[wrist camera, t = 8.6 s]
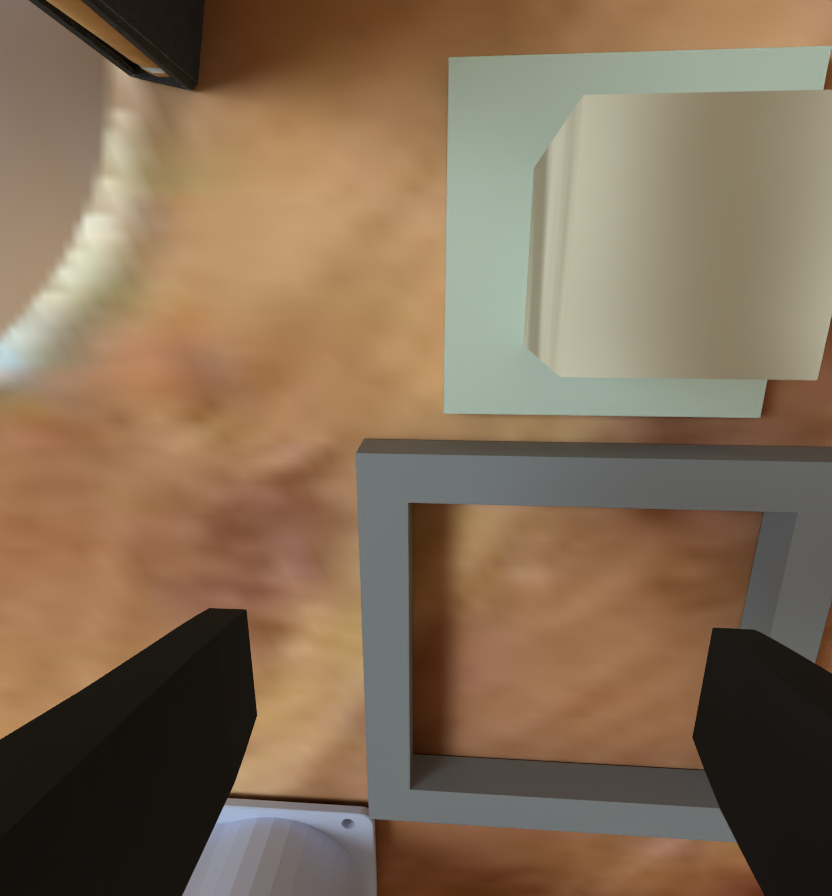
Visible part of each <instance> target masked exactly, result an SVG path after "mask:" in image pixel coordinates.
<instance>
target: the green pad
mask: <svg viewBox="0 0 832 896" xmlns="http://www.w3.org/2000/svg"><path fill="white" fill-rule="evenodd" d="M831 47H832V46H814V47H780V48H746V49H712V50H678V51H644V52H610V53H576V54H542V55H508V56H474V57H449V80H448V150H447V221H446V291H445V362H444V413H449V414H520V415H590V416H660V417H731V418H760V416H761V410H762V405H763V400H764V395H765V390H766V385H767V380H757V379H676V378H594V377H560V376H559V375H558V374H556V373H555V372H554V371H553V370H552V369H551V368H549V367H548V366H547V365H546V364H545V363H544V362H542V361H541V360H540V359H539V358H538V357H537V356H535V355H534V354H533V353H532V352H531V351H530V350H528V349H527V348H526V347H525V346H524V345H523V341H524V324H525V307H526V290H527V274H528V257H529V240H530V223H531V206H532V190H533V173H534V167H535V166H536V164H537V163H538V161H539V160H540V158H541V157H542V155H543V154H544V152H545V151H546V149H547V148H548V146H549V145H550V143H551V142H552V141H553V139H554V138H555V136H556V135H557V133H558V132H559V130H560V129H561V127H562V126H563V124H564V123H565V121H566V120H567V118H568V117H569V116H570V114H571V113H572V111H573V110H574V108H575V107H576V105H577V104H578V102H579V101H580V99H581V98H582V96H583V95H600V94H647V93H694V92H741V91H787V90H823V89H824V84H825V79H826V73H827V68H828V63H829V58H830V53H831Z"/></svg>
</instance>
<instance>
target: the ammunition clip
mask: <svg viewBox="0 0 832 896" xmlns="http://www.w3.org/2000/svg"><path fill="white" fill-rule="evenodd" d="M29 1H31V2H32V3H33V4H34V5H36V6H37V7H38V8H40V9H41V10H42V11H44V12H45V13H47V14H48V15H49V16H51V17H52V18H53V19H55V20H56V21H57V22H59V23H60V24H61V25H63V26H64V27H65V28H67V29H68V30H69V31H71V32H72V33H73V34H75V35H76V36H77V37H79V38H80V39H81V40H83V41H84V42H85V43H87V44H88V45H89V46H91V47H92V48H93V49H95V50H96V51H97V52H99V53H100V54H101V55H103V56H104V57H105V58H107V59H108V60H109V61H111V62H112V63H113V64H115V65H116V66H117V67H119V68H120V69H121V70H123V71H124V72H125V73H127V74H128V75H129V76H131V77H135V78H140V79H144V80H148V81H153V82H157V83H161V84H166V85H170V86H174V87H179V88H183V89H187V90H192V89H193V88H194V87H195V86H196V85H197V84H198V76H199V63H200V51H201V39H202V26H203V14H204V2H205V0H29Z"/></svg>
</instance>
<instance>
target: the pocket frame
mask: <svg viewBox="0 0 832 896" xmlns="http://www.w3.org/2000/svg"><path fill="white" fill-rule="evenodd" d="M356 469H357V497H358V525H359V553H360V580H361V608H362V636H363V664H364V691H365V719H366V747H367V775H368V802H369V819H381V820H396V821H412V822H427V823H443V824H458V825H474V826H489V827H505V828H520V829H536V830H551V831H567V832H582V833H598V834H613V835H629V836H644V837H660V838H675V839H691V840H706V841H722V842H736V840H735V838H734V836H733V834H732V832H731V830H730V828H729V826H728V824H727V822H726V820H725V818H724V816H723V814H722V812H721V810H720V808H719V805H718V803H717V800H716V798H715V795H714V793H713V790H712V788H711V785H710V783H709V780H708V778H707V775H706V773H705V771H704V770H686V769H668V768H651V767H633V766H615V765H597V764H580V763H562V762H544V761H526V760H508V759H491V758H473V757H455V756H437V755H419V754H413V640H412V503H440V504H480V505H519V506H559V507H599V508H638V509H678V510H717V511H757V512H764V514H763V519H762V524H761V529H760V534H759V538H758V543H757V548H756V553H755V558H754V563H753V568H752V572H751V577H750V582H749V587H748V592H747V597H746V602H745V606H744V611H743V616H742V621H741V626H740V629H755V630H757V631H759V632H761V633H763V634H765V635H766V636H768V637H770V638H772V639H774V640H776V641H778V642H779V643H781V644H783V645H785V646H786V647H788V648H790V649H791V650H793V651H795V652H796V653H798V654H800V655H802V656H803V657H805V658H807V659H808V660H810V661H812V662H813V663H815V662H816V658H817V655H818V651H819V647H820V643H821V639H822V635H823V632H824V628H825V624H826V620H827V616H828V612H829V608H830V605H831V601H832V448H831V447H800V446H743V445H686V444H629V443H572V442H514V441H457V440H400V439H364V440H363V442H362V444H361V445H360V447H359V449H358V450H357V452H356Z"/></svg>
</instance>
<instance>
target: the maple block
mask: <svg viewBox="0 0 832 896" xmlns="http://www.w3.org/2000/svg"><path fill="white" fill-rule="evenodd" d="M831 317H832V90H787V91H741V92H694V93H647V94H600V95H583V96H582V98H581V99H580V101H579V102H578V104H577V105H576V107H575V108H574V110H573V111H572V113H571V114H570V116H569V117H568V118H567V120H566V121H565V123H564V124H563V126H562V127H561V129H560V130H559V132H558V133H557V135H556V136H555V138H554V139H553V141H552V142H551V143H550V145H549V146H548V148H547V149H546V151H545V152H544V154H543V155H542V157H541V158H540V160H539V161H538V163H537V164H536V166H535V167H534V173H533V190H532V206H531V223H530V240H529V257H528V274H527V290H526V307H525V324H524V341H523V345H524V346H525V347H526V348H527V349H528V350H530V351H531V352H532V353H533V354H534V355H535V356H537V357H538V358H539V359H540V360H541V361H542V362H544V363H545V364H546V365H547V366H548V367H549V368H551V369H552V370H553V371H554V372H555V373H556V374H558V375H559V376H560V377H594V378H676V379H757V380H818V375H819V371H820V366H821V362H822V357H823V353H824V348H825V344H826V339H827V335H828V330H829V326H830V321H831Z"/></svg>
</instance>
